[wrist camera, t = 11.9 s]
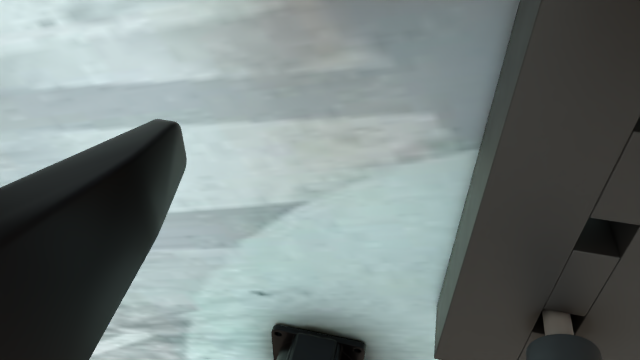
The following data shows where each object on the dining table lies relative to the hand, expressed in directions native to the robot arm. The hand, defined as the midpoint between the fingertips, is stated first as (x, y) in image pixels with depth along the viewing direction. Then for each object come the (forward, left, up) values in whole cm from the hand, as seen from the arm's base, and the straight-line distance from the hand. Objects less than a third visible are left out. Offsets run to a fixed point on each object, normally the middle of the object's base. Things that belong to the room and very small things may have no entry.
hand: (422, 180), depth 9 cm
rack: (-9, -8, -12) cm, 17 cm away
